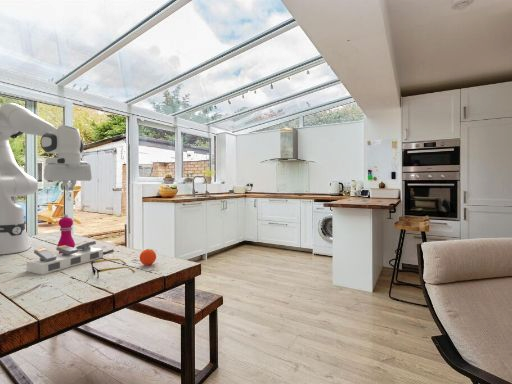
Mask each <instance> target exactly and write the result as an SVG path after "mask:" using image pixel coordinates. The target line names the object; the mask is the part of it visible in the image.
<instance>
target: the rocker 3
mask: <svg viewBox="0 0 512 384" xmlns="http://www.w3.org/2000/svg"><path fill="white" fill-rule="evenodd" d="M96 244H97V243H96V240H93V241H90V242H86V243H83V244H80V245H78V246H75V247H76V248H75V249H78V250H79V249H82V248H86V247H91V246H94V245H96Z"/></svg>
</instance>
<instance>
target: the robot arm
mask: <svg viewBox="0 0 512 384" xmlns="http://www.w3.org/2000/svg"><path fill="white" fill-rule="evenodd" d="M24 134H27V135H31V136H32V135H33V136H38V137H41V138H40V140H39V141H40V146H41V149H42V150H43V151H44V152H45V153H48V154H56V155H57V156H54V157H48V158H46V159H45V165H44V169H43V171H44V173H43V177H44V179H45V181H48V182H49V181H50V182H51V181H57V182H58V181H61V182H62V185H63V186H64V187H65V190H64V191H67V192H68V191H69V192H70V191H73V192H74V190H75V186H76V185H77V182H78V181H84V182H85V181H86V182H87V181H92V179H93V177H92V169H91V164H90V163H88V161H81V160H82V159H81V157H82V156H81V153H82V152H83V151H84V148H85V144H84V142H83V140H82V139H81V133H80V130H79V128H77V127H75V126H70V125H65V124H60V125H59V126H58V127H56V126H55V125H54V124H51V123H50V122H48V121H46V120H45V119H43V118H42V117H39V116H38V115H36V114H35V113H34V112H32V111H31V110H29V109H27V107H26V108H25V107H24V106H22V105H20V104H17V103H14V102H6V103H3V104H2V105H1V106H0V255H9V254H10V255H11V254H16V253H21V252H25V251H28V250H29V249H30V248H32V244H31V245H30V242H29V235H28V234H29V233H28V232H27V231H26V225H25V224H26V223H25V220H24V219H25V218H24V214H25V213H24V208H23V206H21V205H20V204H17V203H14V201H13V200H12V197H25V196H30V195H34V194H35V193H36V192H37V191H38V189H39V183H38V181H37V179H36V178H35V177H33V176H32V175H30V174H28V173H26V172H25V171H24V170H23V169H22V168H21V167H20V166H19V165H18V162H17V161H16V159H15V156H14V153H13V149H12V147H11V144H10V139H17V138H18V137H19V136H22V135H24ZM69 181H70V183H69ZM69 184H70V186H69Z"/></svg>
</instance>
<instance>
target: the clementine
mask: <svg viewBox="0 0 512 384" xmlns="http://www.w3.org/2000/svg"><path fill="white" fill-rule="evenodd" d="M156 252H157V254H158V251H156ZM156 252H155V249H154V248H147V249H144V250H143V251H141V252H140V254H139V261H140V263H141V264H143V265H145V266H150V265H153V264H154V263H155V261H156V259H157V254H156Z"/></svg>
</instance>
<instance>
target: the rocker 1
mask: <svg viewBox="0 0 512 384" xmlns="http://www.w3.org/2000/svg"><path fill="white" fill-rule="evenodd" d="M33 253H34V254H35V255H36V256H37V257H39V258H42V259H43V260H44V261H46V262H48V261H52V260H56V257H57V256H55V255H56V254H54V253H52V252H51V251H50V250H48V249H47V248H46V247H40V248H36V249H34V250H33Z"/></svg>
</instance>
